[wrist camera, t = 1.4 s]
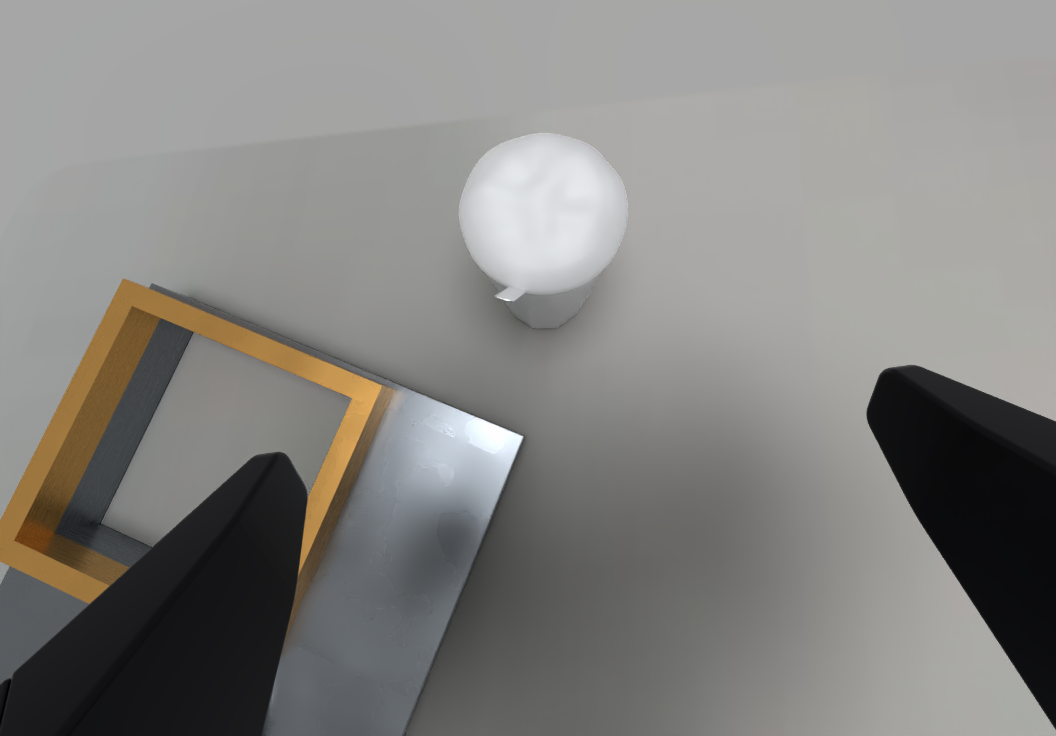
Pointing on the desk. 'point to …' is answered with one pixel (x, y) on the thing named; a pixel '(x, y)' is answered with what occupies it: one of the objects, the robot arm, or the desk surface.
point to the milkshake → (543, 223)
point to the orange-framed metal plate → (330, 525)
